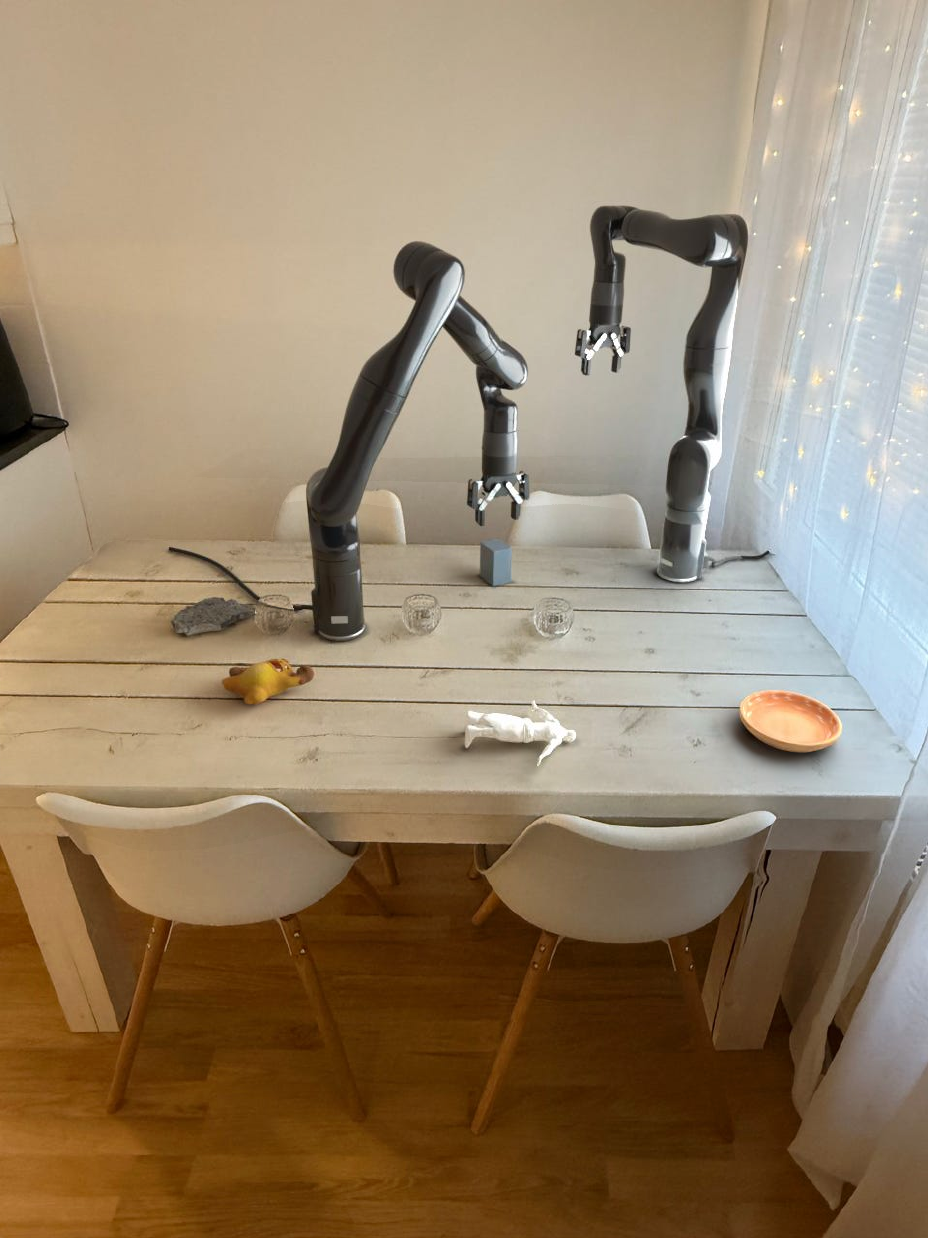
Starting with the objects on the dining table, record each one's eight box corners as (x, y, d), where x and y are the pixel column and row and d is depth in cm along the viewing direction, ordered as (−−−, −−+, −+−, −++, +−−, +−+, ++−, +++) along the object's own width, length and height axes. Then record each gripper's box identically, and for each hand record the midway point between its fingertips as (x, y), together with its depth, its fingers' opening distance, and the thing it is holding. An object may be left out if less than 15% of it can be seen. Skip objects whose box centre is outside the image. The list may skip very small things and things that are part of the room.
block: (492, 586, 184) (493, 551, 180) (479, 575, 189) (480, 541, 185) (510, 582, 186) (512, 548, 182) (497, 571, 191) (498, 538, 187)
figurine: (463, 772, 126) (578, 784, 127) (467, 744, 123) (584, 757, 124) (464, 709, 141) (566, 721, 142) (468, 684, 139) (572, 696, 139)
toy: (214, 669, 145) (294, 645, 152) (223, 703, 146) (302, 678, 153) (228, 678, 135) (313, 652, 142) (238, 714, 136) (322, 687, 143)
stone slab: (156, 626, 166) (154, 613, 164) (223, 596, 177) (221, 584, 176) (194, 646, 159) (192, 633, 158) (261, 614, 171) (259, 601, 169)
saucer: (730, 699, 144) (733, 685, 143) (824, 707, 142) (828, 693, 141) (745, 755, 130) (748, 740, 129) (849, 764, 128) (854, 749, 127)
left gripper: (478, 459, 167) (477, 533, 174) (537, 450, 172) (534, 522, 180) (461, 449, 173) (461, 521, 180) (519, 441, 178) (517, 511, 186)
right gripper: (590, 305, 183) (585, 379, 191) (641, 302, 189) (633, 373, 197) (572, 301, 189) (567, 373, 197) (621, 298, 195) (615, 367, 202)
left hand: (497, 521), depth 180 cm, fingers open, 8 cm apart
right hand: (600, 373), depth 197 cm, fingers open, 8 cm apart
